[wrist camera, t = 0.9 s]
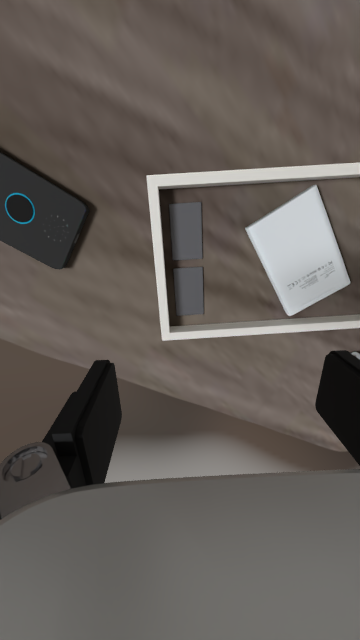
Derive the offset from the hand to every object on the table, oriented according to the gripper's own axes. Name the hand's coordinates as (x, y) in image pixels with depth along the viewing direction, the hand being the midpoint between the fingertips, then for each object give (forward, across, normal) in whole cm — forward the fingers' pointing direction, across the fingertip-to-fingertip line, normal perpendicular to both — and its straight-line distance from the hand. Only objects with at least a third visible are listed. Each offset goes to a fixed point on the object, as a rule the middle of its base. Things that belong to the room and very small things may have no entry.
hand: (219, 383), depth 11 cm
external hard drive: (+21, -13, -3) cm, 25 cm away
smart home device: (+21, +21, -11) cm, 32 cm away
